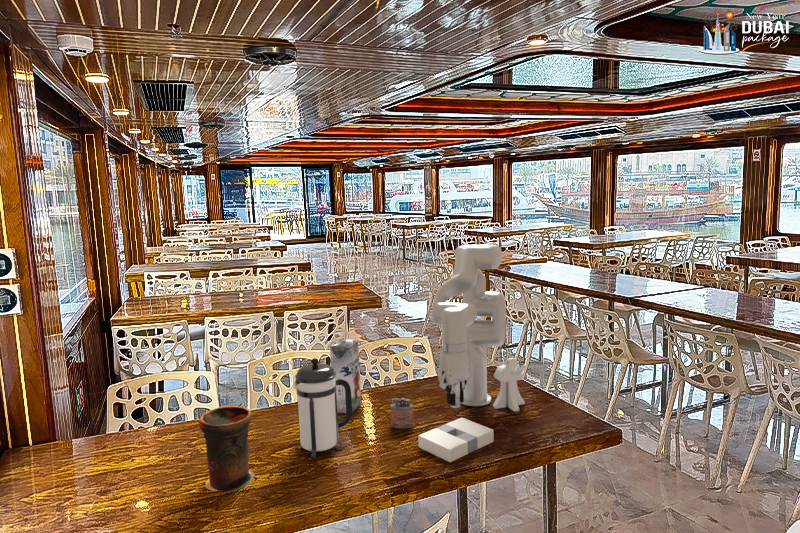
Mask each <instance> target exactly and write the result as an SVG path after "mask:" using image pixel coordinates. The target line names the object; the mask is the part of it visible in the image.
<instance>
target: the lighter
mask: <svg viewBox="0 0 800 533" xmlns="http://www.w3.org/2000/svg"><path fill="white" fill-rule="evenodd" d="M410 402H411V400H410V398H405V397H401V398H391V403H392V404H390V405H389V407H390V421H391V423H390V427H391V428H395V429H409V428H411V429H412V428H414V427H415V422H414V404H411V403H410Z"/></svg>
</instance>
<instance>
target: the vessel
mask: <svg viewBox="0 0 800 533" xmlns="http://www.w3.org/2000/svg"><path fill="white" fill-rule="evenodd" d="M251 420H252V412H251V411H250V409H248V408H246V407H244V406H238V405H237V406H236V405H226V406H219V407H216V408H214V409H211V410H207V411H206V412H205V413H203V414H201V416H200V418H199V422H198V426H199V429H200V430H201V432H202V433H203V438H204V439H205V446H206V447H205V449H206V458H207V468H208V476H207V478H208V479H207V480H206V481H205V485H204V486H205V488H206V490H207V489H208V490H210V491H213V492H223V493H226V492H232V491H238V490H240V489H241V488H243V487H247V486H249V485H251V483H252V482H253V481H252V480H254V477H255V476H256V474H255V472H253V471H250V470H249V467H250V466H249V461H250V455H249V454H250V453H249V440H248V439H249V427H250V426H249V425H250V423H251Z"/></svg>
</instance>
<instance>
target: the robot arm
mask: <svg viewBox="0 0 800 533" xmlns="http://www.w3.org/2000/svg"><path fill="white" fill-rule="evenodd" d="M454 251H455V252H454V258H455V260H454V265H453V271H452V277H451V278H449V279H448V280H446V281H445V282H444V283H443V284H442V285H441V286H440V287H439V288H438V289H437V291H436V293H435V295H434V299H433V303H432V308H431V309H432V310H431V319H432V321H433V323H435V324H436V325H439V326H441V333H442V334H441V338H442V339H441V341H442V343H441V344H442V348H441V349H442V351H441V352H440V355H439V359H438V361H439V362H438V374H437V375H438V377H437V378H438V382H439V384H438V387H439V388H440V389H442V390H444V391H445V393H446V403H447V404H448V405H450V406H451V405H452V406H455V405H456V397H455V393H454V384H456V383H459V382H460V405H461V404H462V405H464V406H470V407H483V406H486V405H489V404H490V403H491V402H492V397H491V396H490V395H489V394H488V374H487V373H488V371H487V370H488V368H487V367H488V364H487V363H488V361H487V354H486V353H485V350H484V349H483V348H482V347H483V346H484V347H501V346H503V345H504V344H505V342H506V336H507V335H506V334H507V333H506V331H507V328H506V325H507V323H506V322H507V320H506V319H507V317H506V316H507V314H506V313H507V312H506V310H507V306H506V297H505V295H504V294H503V293H502V292H500V291H490V290H489V291H487V278H486V276H485V274H484V272H483V271H482V270H496V269H498V268H499V267H500V265H501V264H502V261H503V251H502V249H501V247H500V246H499V245H498V244H464V245H460V246H457V247H456V248H455V250H454ZM460 294H463V295H462V302H458V301H457V302H451V301H448V300H449V299H451V298H453V297H455V296H458V295H460ZM477 317H483V318H484V317H485V318H486V317H487V318H488V317H489V318H492V320H490V319H489V320H485V319H484V320H483V319H477ZM459 378H461V379H462V380H460V381H458V380H459Z"/></svg>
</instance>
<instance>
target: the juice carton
mask: <svg viewBox="0 0 800 533" xmlns="http://www.w3.org/2000/svg"><path fill="white" fill-rule="evenodd" d="M329 349H330V350H329V352H330V354H329V355H330V356H329V357H330V366H331V367H332V368H333V369H334V371H335V372H336V377H335V381H336V380H338V379H342V380H345V381H347V382H348V383H349V385H350V388H351V399H352V414H354V412H355V411H356V410H357V409H358V408H359V407H360V406H361V400H362V396H361V394H362V393H361V392H362V391H361V375H360V374H361V372H360V353H359V352H360V350H359V341H358V340H353V339H344V340H343V339H339V340H338V341H337V342H336V343H334V344H332V345H330V346H329ZM336 397H337V414H346V399H345V388H344V386H343V385H336Z"/></svg>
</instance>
